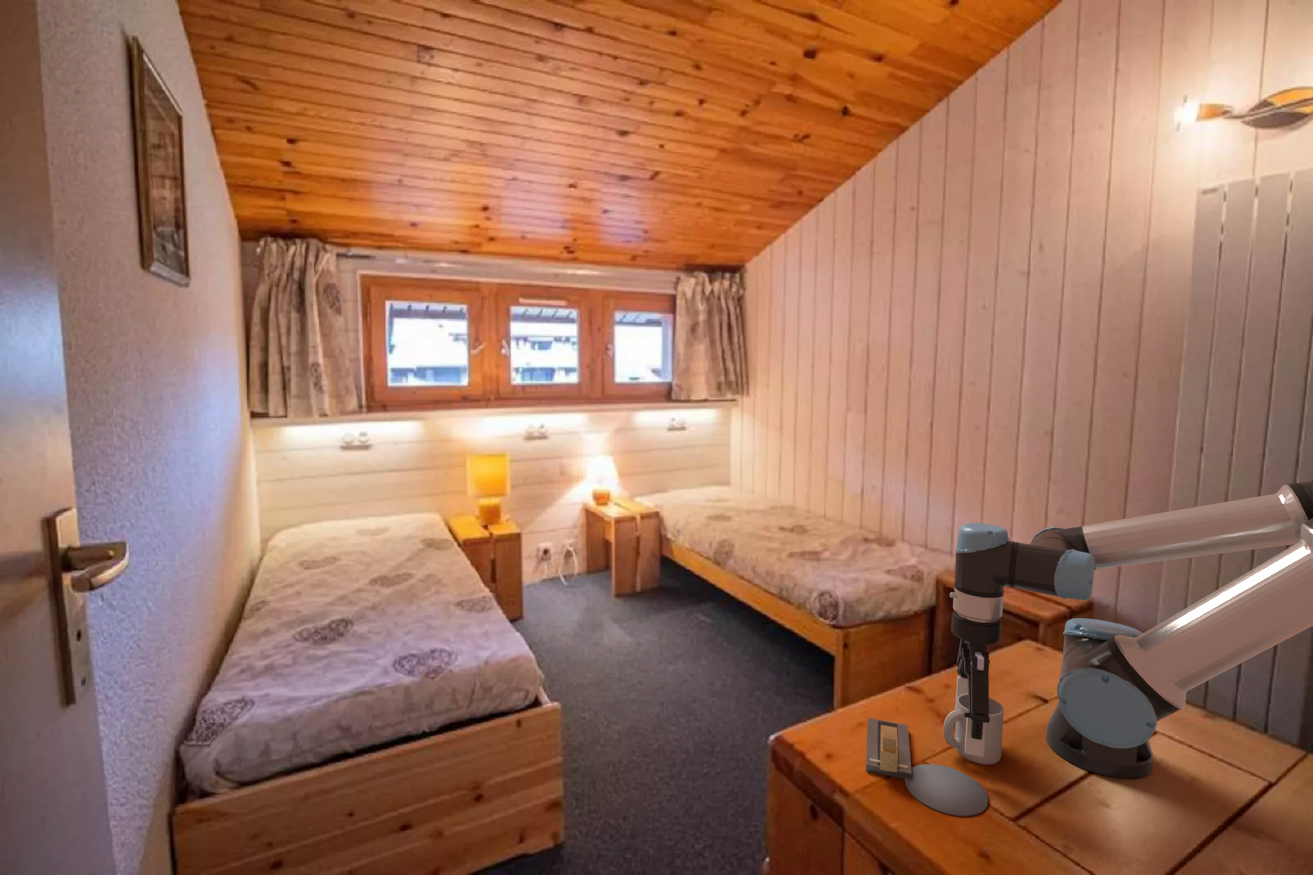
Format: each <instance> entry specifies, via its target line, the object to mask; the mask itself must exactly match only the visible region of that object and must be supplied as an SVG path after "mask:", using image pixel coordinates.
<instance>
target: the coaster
mask: <svg viewBox="0 0 1313 875" xmlns="http://www.w3.org/2000/svg"><path fill="white" fill-rule="evenodd" d="M911 773H912V775H911V779H910V778H905V779H904V784H905V787H906V789H907V790H908V792H909V793H910V795H912V796H913V797H914V798H915V800H917V801H918V802H920V803H921V804H922V805H924V806H927V807H928V808H930V809H931V810H934V811H935V812H936V811H937V812H939V813H942V814H946V815H951V816H957V817H970V816H971V817H972V816H976V815H979V814H981V813H983V812H985V810H986V809H987V808H988V806H989V805H988V804H989V795H988V793H987V791H986V790H985V788H984V787H983V785H982V784H980V783H979V782H978V781H977V780H976V779H974V778H973V777H971V776H970V775H969V774H966V773H964V772H963V771H960V770H957V769H956V768H953V767H949V766H946V765H941V764H933V763H927V764H926V763H925V764H918V765H915V766H911Z"/></svg>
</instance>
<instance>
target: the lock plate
mask: <svg viewBox="0 0 1313 875" xmlns="http://www.w3.org/2000/svg"><path fill="white" fill-rule="evenodd" d="M881 725H884V726H890V727H895V728H897V742H898V768H897V773H896V772H891V771H886V770H881V769H880V735H881ZM866 733H867V734H866V754H865V755H866V759H865V772H869V773H872V774H877V775H882V776H887V777H891V778H898V779H902V780H905V778H910V779H911V775H912V773H911V768H912V762H911V760H912V759H911V750H910V749H911V748H910V739H909V726H908V724H904V723H898V722H892V721H887V720H881V719H876V718H870V717H867V732H866Z"/></svg>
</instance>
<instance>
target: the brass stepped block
mask: <svg viewBox="0 0 1313 875" xmlns="http://www.w3.org/2000/svg"><path fill="white" fill-rule="evenodd" d="M897 768H898V742H897V728H895V727H890V726H884V725H881V735H880V769H881V770H886V771H891V772H896V773H897Z"/></svg>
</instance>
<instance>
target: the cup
mask: <svg viewBox="0 0 1313 875" xmlns="http://www.w3.org/2000/svg"><path fill="white" fill-rule="evenodd" d="M1004 711H1005V709H1004V706H1003V705H1002V704H1001V702H998V700H996V699H993V698H991V697H989V718H990V721H989V723H986V731H985V745H984V757H980V756H975V755H970V754H965V738H966V724H967V717H964V713H965V712H966V713H968V712H969V698H968V694H962V695H960V696H958V697H957V708H956V710H955V709H954V710H952V711H950V712H949V713H948V714H947V715H946V717H945V719H944V723H943V730H942V732H943V737H944V739H945V742H946V744H947V745H948V746H950V747H952V748H955V750H956V751H957V753H958V754H959V755H960V756H961V757H962V758H964V759H965V760H967V761H969V762H972V763H976V764H978V765H979V764H980V765H986V766H987V765H988V766H989V765H995V764H997V763H998V762H999V761H1000V760H1001V756H1002V748H1003V746H1002V745H1003V744H1002V743H1003V731H1004V730H1003V726H1004ZM954 730H955V732H954ZM954 733H955V734H954Z"/></svg>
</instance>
